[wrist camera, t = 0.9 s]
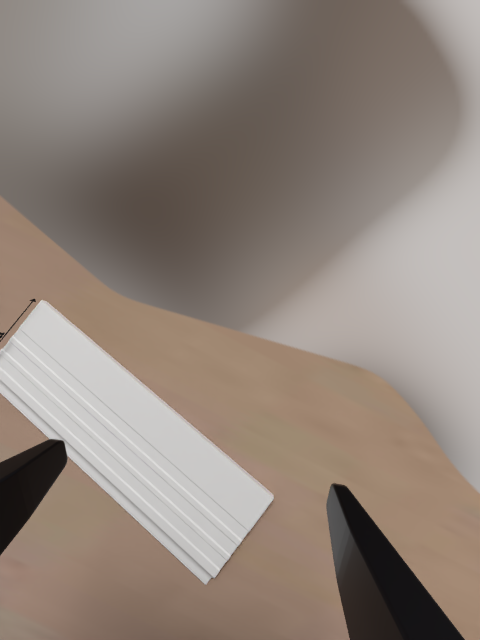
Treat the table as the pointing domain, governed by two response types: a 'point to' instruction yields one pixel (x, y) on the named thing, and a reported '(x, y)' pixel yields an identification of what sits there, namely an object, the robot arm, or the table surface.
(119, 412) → the baseboard molding
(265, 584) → the table surface
